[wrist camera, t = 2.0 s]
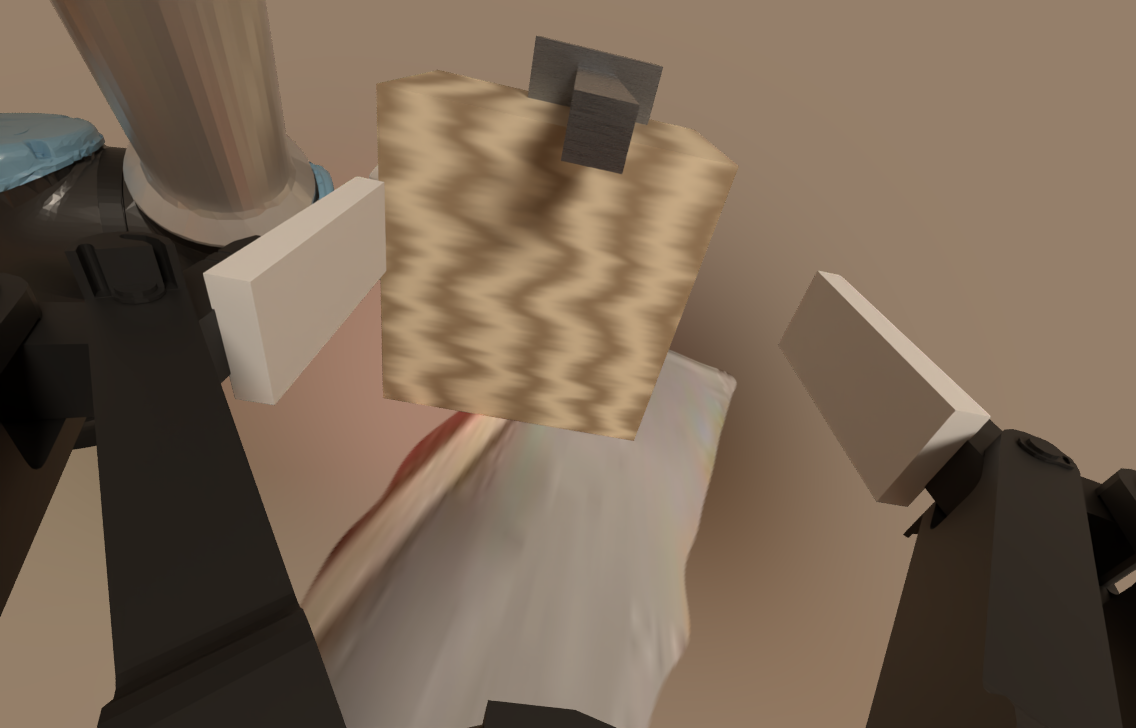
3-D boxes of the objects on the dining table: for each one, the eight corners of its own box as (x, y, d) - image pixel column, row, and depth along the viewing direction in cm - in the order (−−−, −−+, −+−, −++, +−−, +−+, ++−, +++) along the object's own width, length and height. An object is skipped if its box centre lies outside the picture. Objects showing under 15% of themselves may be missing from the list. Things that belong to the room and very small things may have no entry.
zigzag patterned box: (383, 397, 52) (376, 83, 35) (431, 310, 68) (442, 68, 52) (633, 440, 54) (738, 166, 38) (622, 346, 71) (691, 127, 54)
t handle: (484, 143, 26) (494, 34, 23) (532, 92, 50) (540, 36, 48) (694, 190, 27) (728, 91, 24) (642, 118, 51) (656, 64, 49)
